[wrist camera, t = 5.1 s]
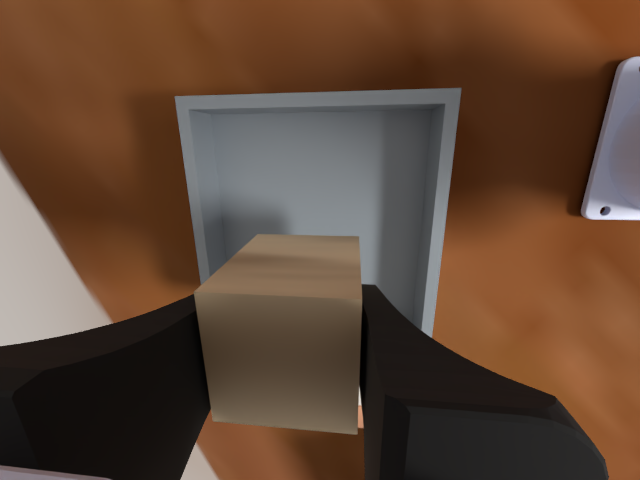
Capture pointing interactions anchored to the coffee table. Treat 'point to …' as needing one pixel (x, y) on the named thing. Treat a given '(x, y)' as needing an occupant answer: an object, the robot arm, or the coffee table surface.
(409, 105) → the grey storage bin
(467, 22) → the coffee table surface
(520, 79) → the coffee table surface
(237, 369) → the maple block
